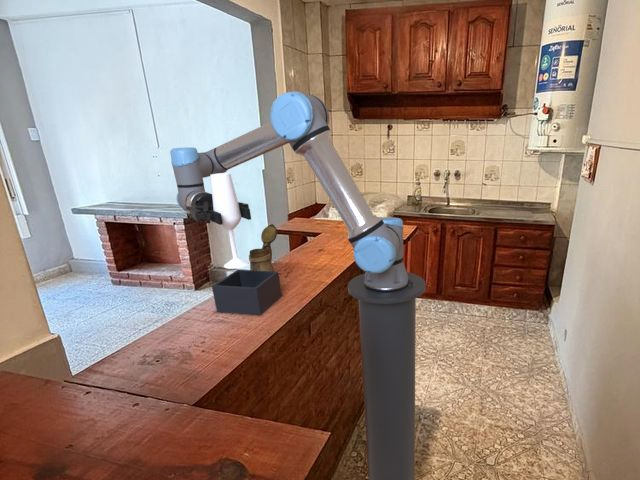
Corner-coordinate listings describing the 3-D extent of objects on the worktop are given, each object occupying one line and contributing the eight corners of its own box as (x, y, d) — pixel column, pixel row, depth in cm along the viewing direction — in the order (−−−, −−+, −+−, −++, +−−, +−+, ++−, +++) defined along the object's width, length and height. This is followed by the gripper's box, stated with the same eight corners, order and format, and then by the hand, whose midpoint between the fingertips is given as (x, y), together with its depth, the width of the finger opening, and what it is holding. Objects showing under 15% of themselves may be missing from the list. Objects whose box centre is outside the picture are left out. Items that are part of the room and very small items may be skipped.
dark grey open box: (281, 295, 123) (278, 271, 120) (260, 315, 111) (256, 288, 108) (241, 293, 126) (237, 269, 123) (216, 311, 113) (211, 286, 110)
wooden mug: (290, 274, 140) (283, 224, 134) (266, 288, 129) (258, 234, 122) (269, 272, 144) (262, 223, 137) (244, 285, 132) (235, 232, 125)
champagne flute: (234, 270, 104) (217, 176, 95) (218, 266, 108) (200, 175, 99) (254, 262, 110) (240, 173, 101) (238, 259, 113) (223, 172, 104)
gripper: (239, 212, 123) (272, 224, 107) (171, 223, 112) (197, 238, 95) (235, 188, 121) (269, 196, 104) (164, 196, 109) (191, 207, 93)
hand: (235, 216), depth 100 cm, fingers closed on champagne flute, 7 cm apart
